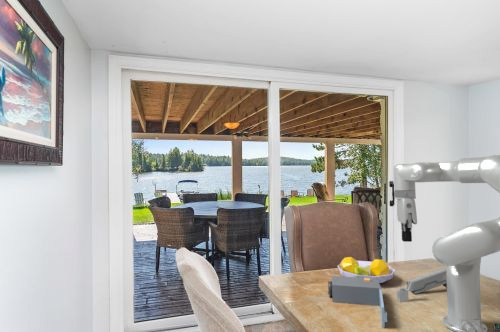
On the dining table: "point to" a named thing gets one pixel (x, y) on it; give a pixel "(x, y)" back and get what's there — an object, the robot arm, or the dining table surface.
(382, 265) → the fruit bowl
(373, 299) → the grey block
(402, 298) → the pale grey angled bracket
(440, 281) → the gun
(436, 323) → the dining table surface
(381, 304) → the side door
